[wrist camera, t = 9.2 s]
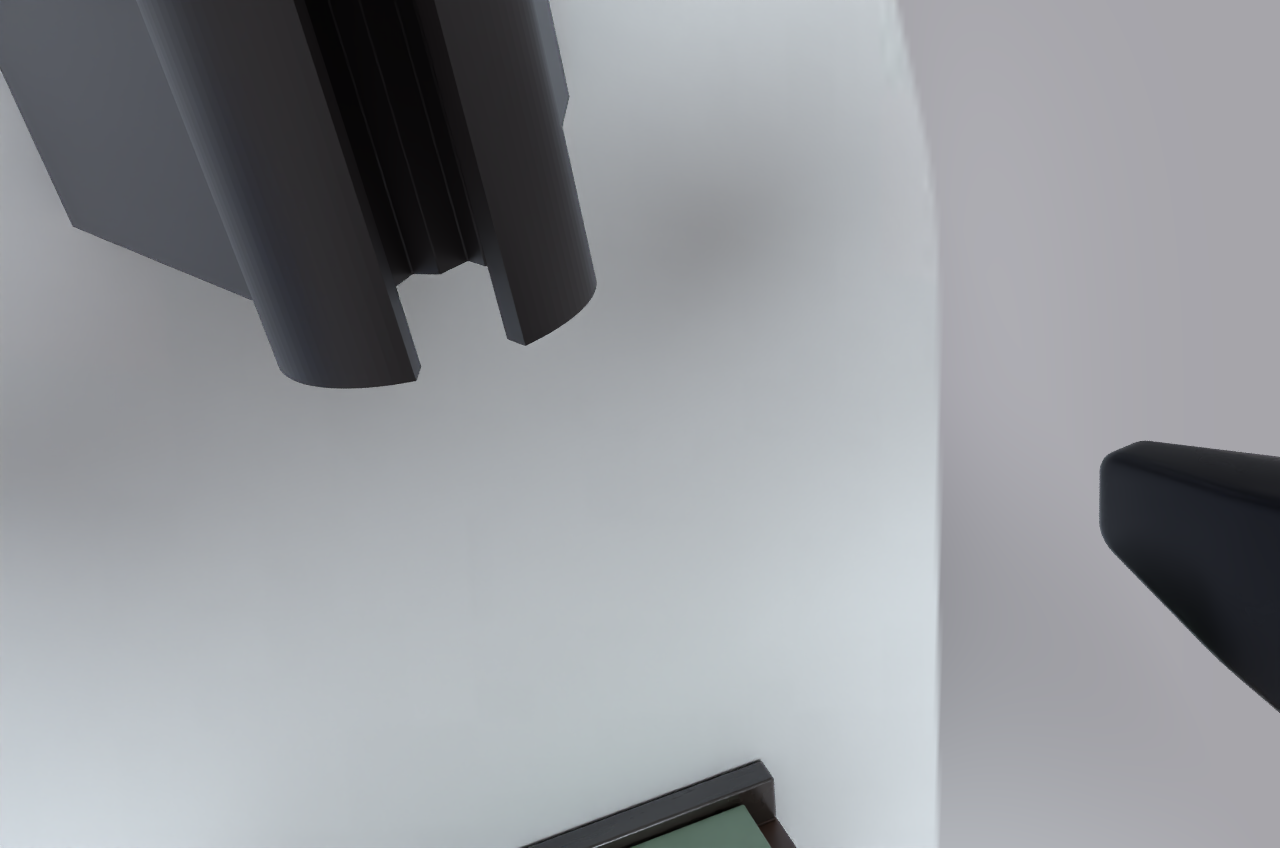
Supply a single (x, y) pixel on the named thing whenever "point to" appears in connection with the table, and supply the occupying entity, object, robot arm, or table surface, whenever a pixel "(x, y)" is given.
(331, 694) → the table surface
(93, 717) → the table surface
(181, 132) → the phone stand
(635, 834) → the cabinet
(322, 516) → the table surface
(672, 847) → the door
